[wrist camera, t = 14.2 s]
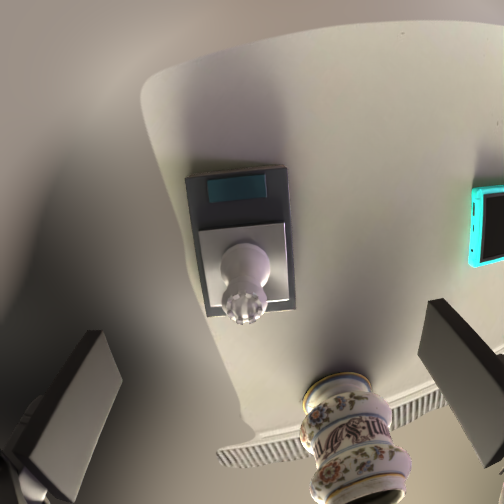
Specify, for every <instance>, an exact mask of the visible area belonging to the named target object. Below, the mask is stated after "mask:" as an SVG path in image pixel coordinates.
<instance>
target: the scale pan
mask: <svg viewBox="0 0 504 504" xmlns="http://www.w3.org/2000/svg"><path fill="white" fill-rule="evenodd" d="M198 234H199V241H200V247H201V254H202V260H203V266H204V272H205V278H206V284H207V290H208V296H209V302H210V306H211V307H212V306H222V303H221V299H222V296H223V293H224V292H225V291H226V288H227V286H226V284H225V283H224V281H223V279H222V278H221V271H220V264H221V260H222V256H223V255H224V254H225V253H226V251H227V250H228V249H229V248H231V247H233V246H235V245H237V244H244V243H249V244H252V245H256V246H258V247H259V248H261V249H262V250H263V251H265V253H266V255H267V256H268V258H269V261H270V274H269V277H268V280H267V282H266V284H265V285H264V286H263V291H264V293H265V294H266V296H267V302H271V301H281V300H289V286H288V269H287V253H286V237H285V224H284V221H276V222H265V223H254V224H244V225H234V226H224V227H214V228H205V229H199V231H198Z"/></svg>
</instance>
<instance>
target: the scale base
mask: <svg viewBox="0 0 504 504" xmlns="http://www.w3.org/2000/svg"><path fill="white" fill-rule="evenodd" d="M185 184H186V192H187V199H188V206H189V213H190V220H191V226H192V233H193V239H194V245H195V252H196V258H197V264H198V270H199V275H200V281H201V287H202V293H203V298H204V304H205V309H206V314H207V317H219V316H227V315H226V313H225V312H224V310H223V309H222V306H212V307H211V306H210V302H209V296H208V290H207V284H206V278H205V272H204V266H203V260H202V254H201V247H200V241H199V234H198V231H199V229H205V228H214V227H224V226H234V225H244V224H254V223H265V222H276V221H284V224H285V237H286V253H287V269H288V286H289V300H281V301H271V302H267V307H266V310H265V312H264V313H267V312H277V311H287V310H295V309H296V300H295V278H294V258H293V241H292V224H291V209H290V195H289V182H288V169H287V167H286V166H284V165H273V166H261V167H251V168H241V169H231V170H222V171H213V172H205V173H197V174H191V175H189V176H188V177H186V178H185Z"/></svg>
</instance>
